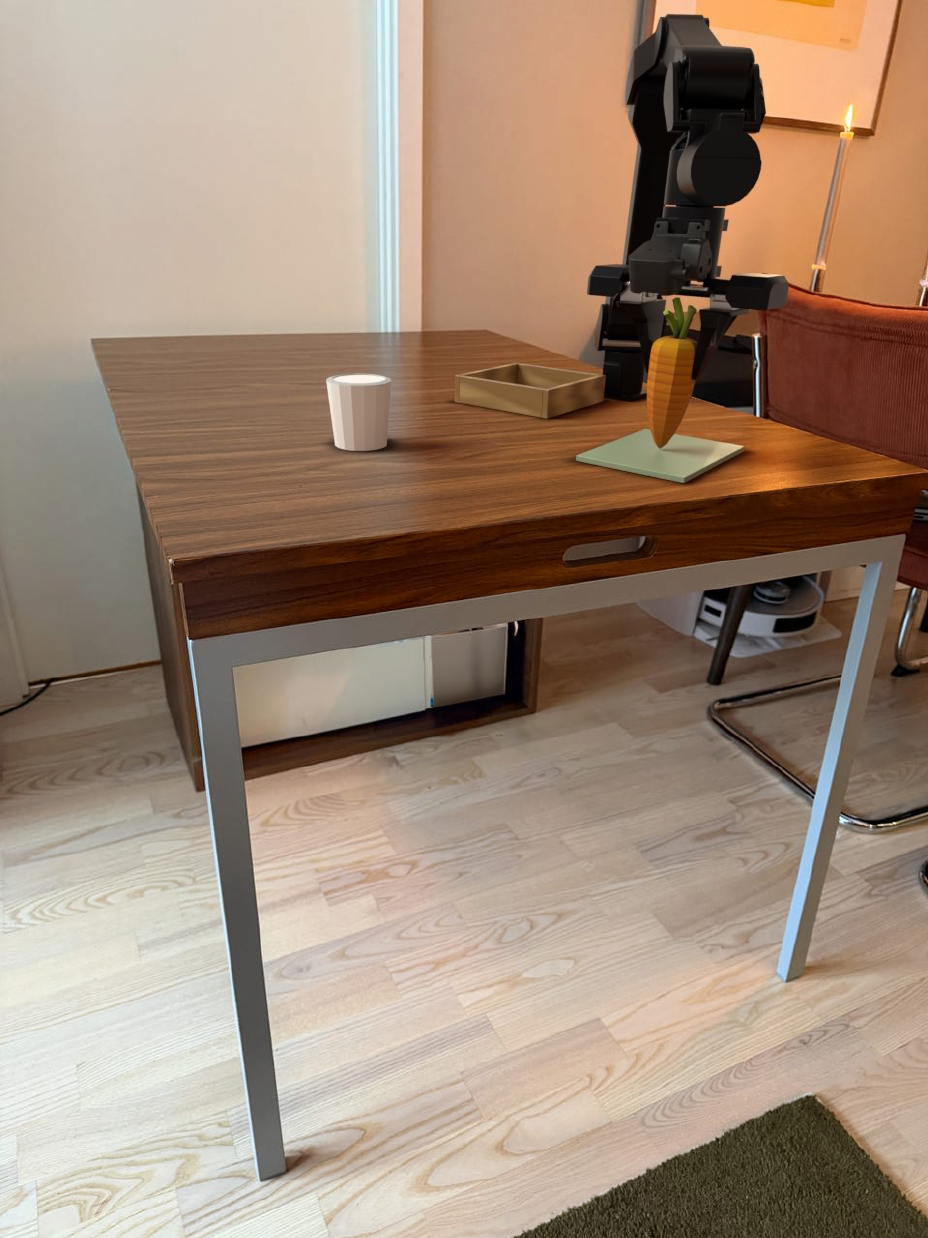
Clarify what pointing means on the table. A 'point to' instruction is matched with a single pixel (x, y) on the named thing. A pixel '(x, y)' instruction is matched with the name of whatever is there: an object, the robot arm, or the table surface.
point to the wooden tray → (530, 389)
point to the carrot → (670, 375)
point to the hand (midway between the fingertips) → (672, 376)
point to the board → (661, 456)
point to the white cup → (359, 410)
